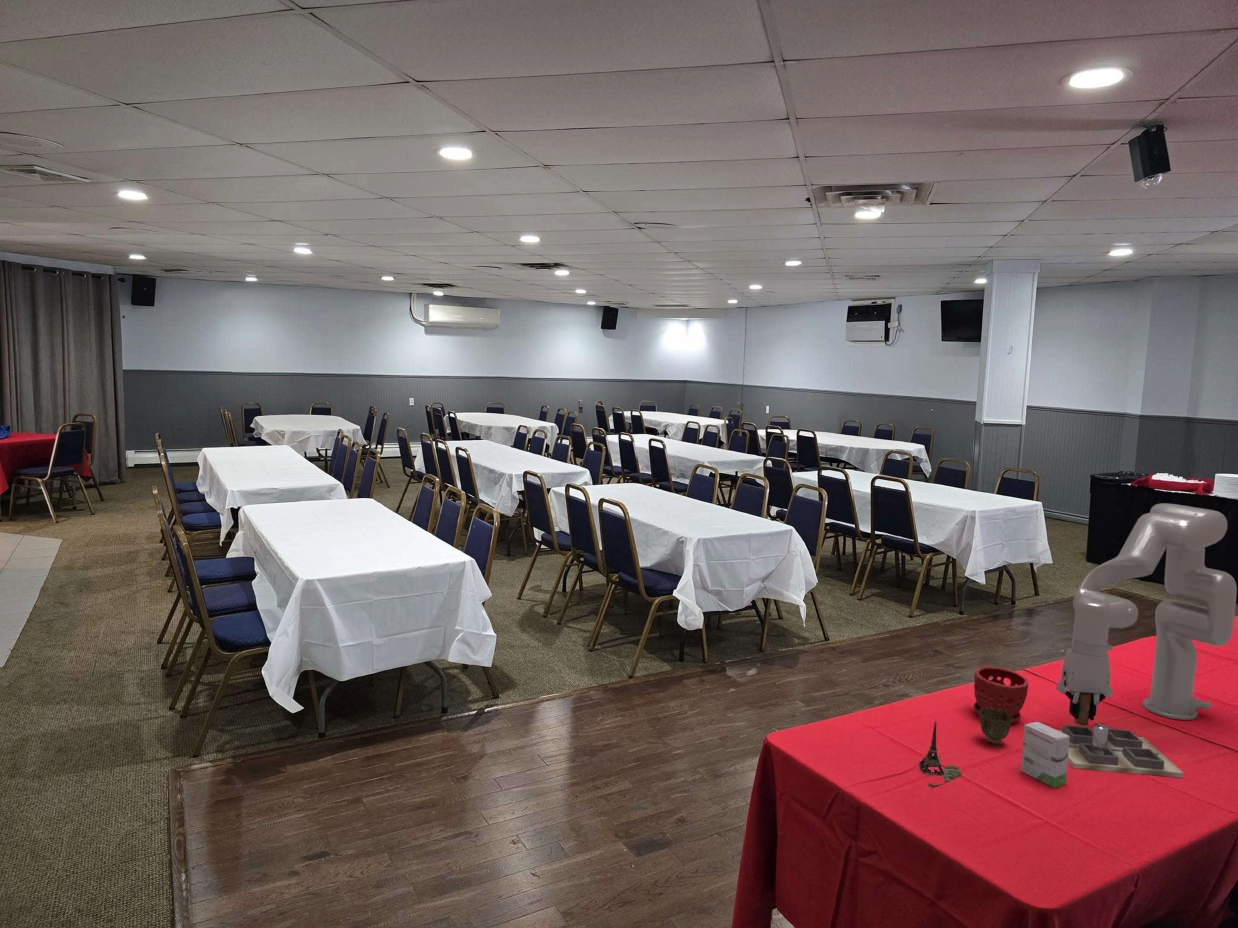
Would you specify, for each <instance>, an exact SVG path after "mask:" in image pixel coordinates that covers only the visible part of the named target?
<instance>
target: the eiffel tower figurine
mask: <svg viewBox="0 0 1238 928" xmlns="http://www.w3.org/2000/svg"><path fill="white" fill-rule="evenodd" d="M936 721H937V718H935V721H934V722H933V731H932V737H931V738H932V739H931V743H930V747H929V750H928V751H927V754H925V757H923V758H922V759H921V760H920V761H919V762H917V763H918V764H917V765H918V766H919V769H920V772H921V774H922V775H930V776H938V777H943V779H944V780H943V781H944V783H943V784H946V783H948V782H950V781H953V780H955V779H957V778H960V777H962V775H963V773H962V771H961V769H960V768H959V767H957V766H955V765H952V764H949V765H947V766H945V767H944V768H943V766H942V765H941V761H940V758H938V756H939V757H942V756H940V755H938V749H937V725H938V724H937V722H936ZM937 755H938V756H937ZM929 767H938V768H939V769H938V770H940V771H938V772H937V770H935V769H934V771H935V772H931V770H929V769H928V768H929ZM941 767H942V768H943V769H945V770H944V771H943V769H942V768H941ZM947 767H948V768H947ZM923 768H924V769H923ZM933 773H934V774H933ZM936 773H937V774H936ZM931 783H932V782H931ZM931 783H928V784H929V785H928V784H927V787H928V788H930V787H934V788H935V787H938V786H941V785H942V783H938V784H939V785H932V784H933V783H932V784H931Z"/></svg>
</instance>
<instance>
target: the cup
mask: <svg viewBox="0 0 1238 928" xmlns="http://www.w3.org/2000/svg"><path fill="white" fill-rule="evenodd" d="M979 721H980V730H981V732H982V733H983V735H985V736H986V737H985V740H986V742H987V743H989V744H990V745H993V746H999V745H1001V744H1002V742H1003V740H1004V739H1005V738H1007V737H1008V736H1009V732H1010V729H1011V725H1012V723H1011V721H1012V717H1010V713H1008V712H1007V710H1005V711H1002V710H1001V709H999V711H997V709H996V708H995V707H994V708H993V709H992V707H990V708H989V709H988V710H987V707H985V710H984V709H983V708H981V710H980V716H979Z"/></svg>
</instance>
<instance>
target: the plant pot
mask: <svg viewBox="0 0 1238 928" xmlns="http://www.w3.org/2000/svg"><path fill="white" fill-rule="evenodd" d="M990 676H991V677H992V679H990ZM998 678H1000V679H998ZM1005 679H1008V680H1009V681H1010V684H1009V685H1007V684H1006V683H1005V682H1004V680H1005ZM973 688H974V698H975V700H976V702H975V703H974V704H973V709H974V712H975V713H976V714H977V716H979V717H980V710H981V708H983V709H984V710H985V707H987V710H988V709H989V708H990V707H992V709H993V708H994V707H995V708H996V709H997V711H999V709H1001V710H1002V711H1005V710H1007V712H1008V713H1010V717H1012V721H1011V724H1015V723H1017V722H1018V721H1019V720H1021V715H1022V714H1021V710H1022V709H1023V707H1024V704H1025V701H1026V700H1027V695H1028V690H1029V681H1028V679H1027V678H1026V677H1025V676H1024V675H1022V674H1020V673H1017V672H1015V671H1012V670H1010V669H1007V668H1002V667H997V666H995V667H994V666H982V667H979V668H978V669H976V670H975V672H974V685H973Z"/></svg>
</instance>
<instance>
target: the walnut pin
mask: <svg viewBox="0 0 1238 928" xmlns="http://www.w3.org/2000/svg"><path fill="white" fill-rule="evenodd" d="M1090 702H1091V693H1083V692H1080V694H1079V699H1078V703H1079V704H1080V709H1079V718H1078V719H1075V718H1074V721H1073V722H1074V723H1075V724H1077V725H1078V726H1084V727H1088V725H1089V720H1090V719H1089V712H1090Z"/></svg>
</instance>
